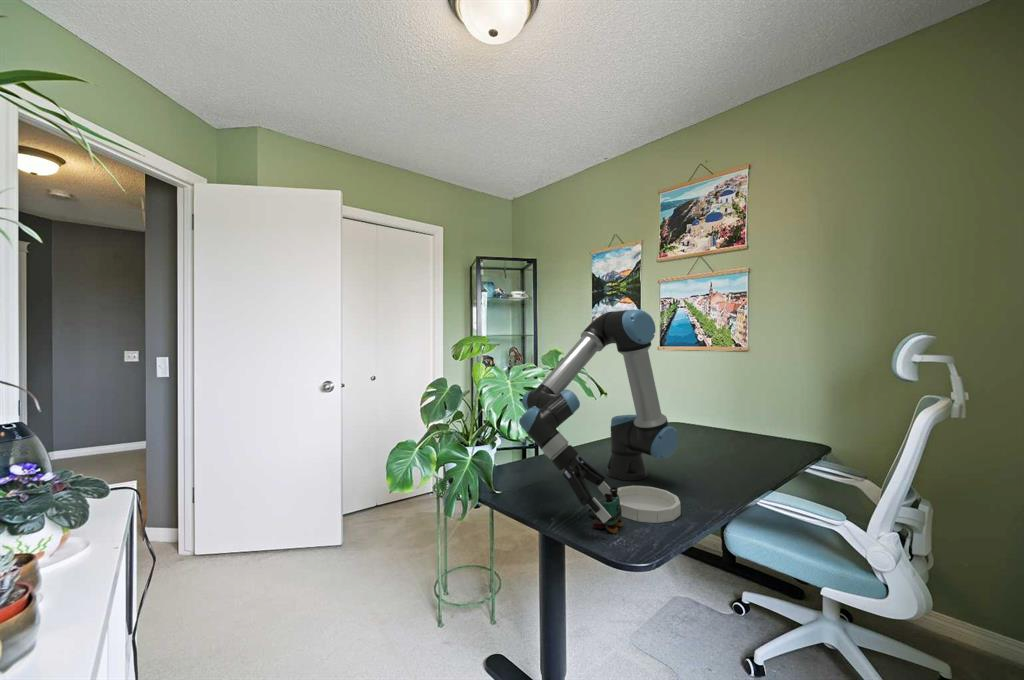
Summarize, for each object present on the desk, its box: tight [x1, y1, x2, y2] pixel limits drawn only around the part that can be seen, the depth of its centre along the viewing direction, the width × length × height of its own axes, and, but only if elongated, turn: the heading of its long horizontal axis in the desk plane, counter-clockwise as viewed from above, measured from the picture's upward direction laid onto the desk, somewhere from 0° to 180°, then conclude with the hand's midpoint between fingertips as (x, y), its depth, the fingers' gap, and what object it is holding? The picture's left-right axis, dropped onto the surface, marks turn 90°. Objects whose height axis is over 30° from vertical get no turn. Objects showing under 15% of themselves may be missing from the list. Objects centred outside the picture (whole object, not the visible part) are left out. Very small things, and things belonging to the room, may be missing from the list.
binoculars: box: [587, 486, 623, 534], centre depth 119 cm, size 9×11×10 cm
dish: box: [617, 485, 682, 524], centre depth 131 cm, size 20×20×4 cm
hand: (612, 510), depth 118 cm, fingers open, 13 cm apart
